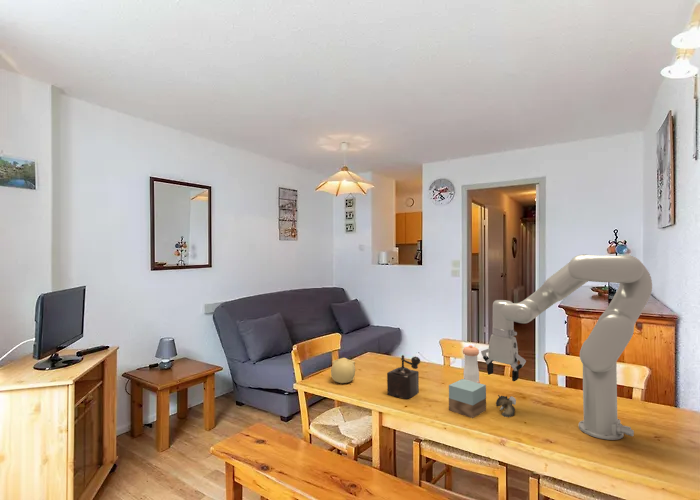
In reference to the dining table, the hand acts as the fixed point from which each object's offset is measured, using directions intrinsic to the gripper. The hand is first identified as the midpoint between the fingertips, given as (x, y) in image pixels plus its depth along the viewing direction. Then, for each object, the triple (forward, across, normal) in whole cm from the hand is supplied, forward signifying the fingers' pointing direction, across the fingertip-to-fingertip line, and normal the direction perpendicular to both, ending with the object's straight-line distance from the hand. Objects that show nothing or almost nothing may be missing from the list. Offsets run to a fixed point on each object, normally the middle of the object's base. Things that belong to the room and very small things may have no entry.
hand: (502, 377), depth 146 cm
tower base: (+13, +9, +10) cm, 19 cm away
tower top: (+8, +9, +10) cm, 16 cm away
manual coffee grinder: (+14, +35, +14) cm, 40 cm away
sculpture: (+15, +68, +22) cm, 73 cm away
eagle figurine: (+13, -2, +1) cm, 13 cm away
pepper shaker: (+13, +20, -12) cm, 27 cm away
